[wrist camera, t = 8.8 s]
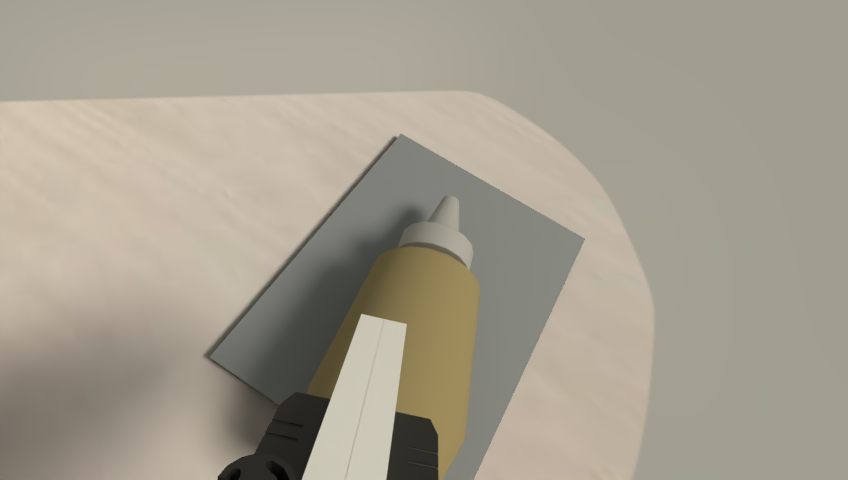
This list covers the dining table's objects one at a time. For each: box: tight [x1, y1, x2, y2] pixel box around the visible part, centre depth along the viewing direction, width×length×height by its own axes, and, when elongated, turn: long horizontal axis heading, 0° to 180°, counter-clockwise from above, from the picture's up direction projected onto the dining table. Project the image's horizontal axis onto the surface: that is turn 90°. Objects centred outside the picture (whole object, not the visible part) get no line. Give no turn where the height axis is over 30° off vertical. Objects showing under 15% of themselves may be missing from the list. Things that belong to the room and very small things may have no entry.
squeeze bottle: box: [307, 196, 480, 480], centre depth 24 cm, size 8×8×18 cm
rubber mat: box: [210, 134, 585, 480], centre depth 29 cm, size 16×21×1 cm
